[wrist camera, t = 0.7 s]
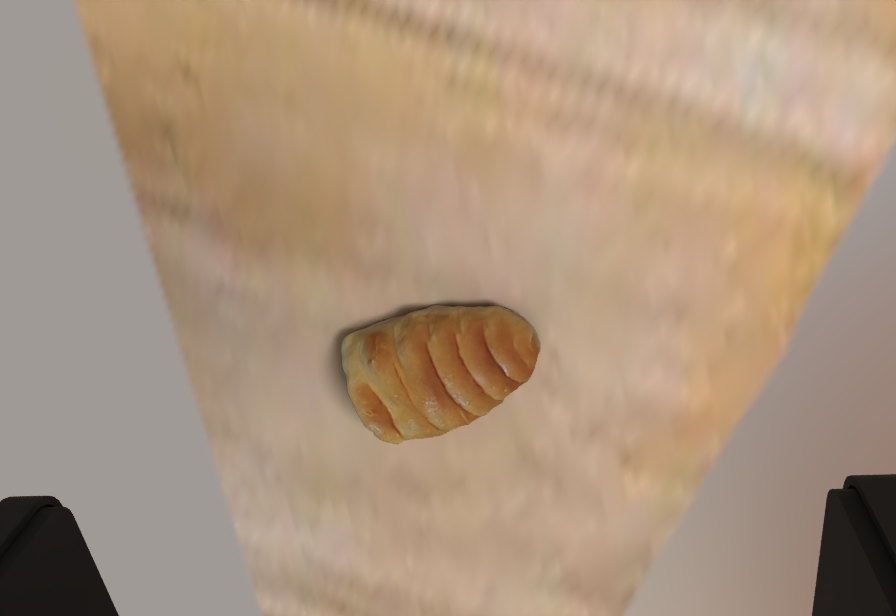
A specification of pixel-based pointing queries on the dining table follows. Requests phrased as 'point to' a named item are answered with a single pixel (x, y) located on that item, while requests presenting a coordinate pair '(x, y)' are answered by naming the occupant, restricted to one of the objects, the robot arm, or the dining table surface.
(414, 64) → the dining table surface
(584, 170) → the dining table surface
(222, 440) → the dining table surface
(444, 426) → the pastry
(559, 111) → the dining table surface
